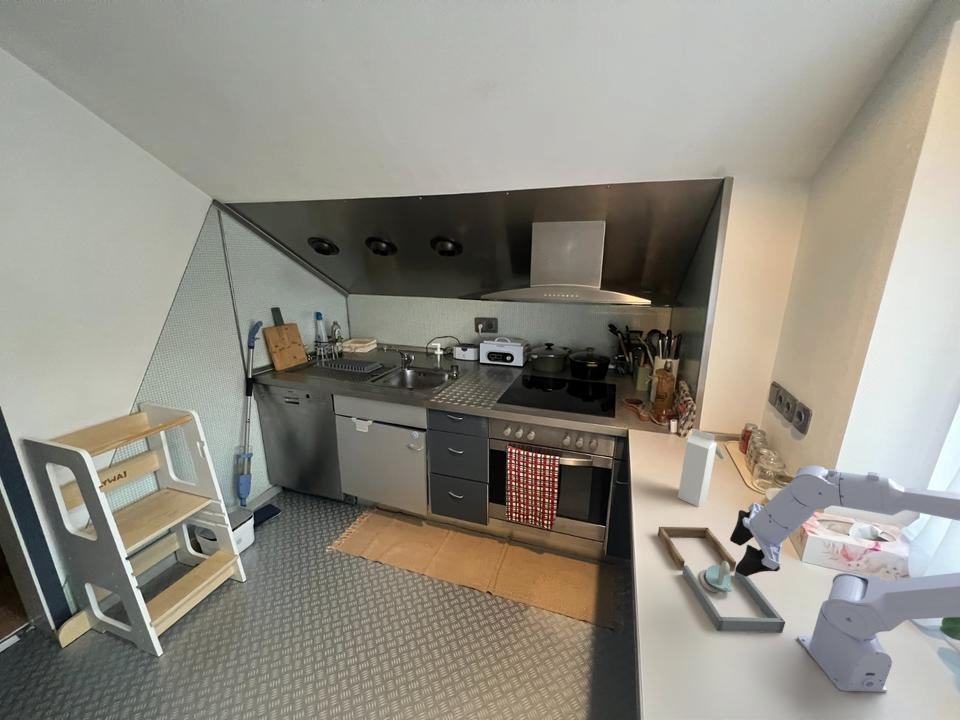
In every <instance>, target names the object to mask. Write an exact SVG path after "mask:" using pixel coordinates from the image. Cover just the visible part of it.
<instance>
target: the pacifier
mask: <svg viewBox="0 0 960 720" xmlns="http://www.w3.org/2000/svg"><path fill="white" fill-rule="evenodd" d="M730 572H731V571H730V566H729V564H728V563H727V562H726V561H723V560H722V562H721V564H713V565H710V566H709V567H708V568H707V569H703V570H701V571H700V573H699V581H700V583H701V584H702V585H701V586H703V587H704V588H705V589H707V590H708V591H710V592H714V593H716V592H722V591H724V592H729V593H731V592H732V591H733V588H732V587H731V586H730V585H729V583H730V582H731V574H730ZM705 579H706V580H705ZM706 581H707V582H708V583H707V582H706ZM709 584H710V585H711V586H710V585H709Z"/></svg>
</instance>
